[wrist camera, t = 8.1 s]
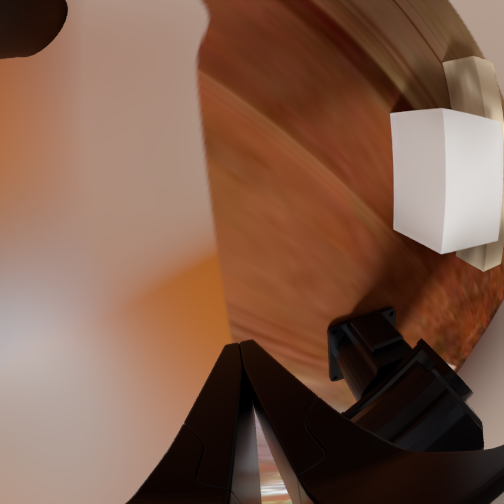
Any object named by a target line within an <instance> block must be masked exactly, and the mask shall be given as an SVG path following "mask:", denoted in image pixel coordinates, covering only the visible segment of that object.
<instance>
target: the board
mask: <svg viewBox="0 0 504 504" xmlns="http://www.w3.org/2000/svg"><path fill="white" fill-rule="evenodd" d="M442 64H443V68H444V72H445V77H446V81H447V86H448V92H449V97H450V103H451V109H452V110H454V111H459V112H464V113H468V114H472V115H477V116H481V117H484V118H488V119H492V120H495V121H499V122H502V133H503V195H502V209H501V219H500V228H499V236H498V241H495V242H491V243H487V244H483V245H479V246H474V247H470V248H466V249H462V250H457V251H456V256H457V257H458V258H460V259H462V260H464V261H466V262H467V263H469V264H471V265H473V266H475V267H476V268H478V269H480V270H482V271H483V272H484V271H486V270H488V269H490V268H492V267H494V266H497V265H499V264H501V259H502V252H503V244H504V120H503V113H502V106H501V99H500V94H499V88H498V83H497V79H496V74H495V69H494V65H493V62H490V61H487V60H484V59H482V58H479V57H476V56H470V57H465V58H460V59H456V60H451V61H447V62H443V63H442Z"/></svg>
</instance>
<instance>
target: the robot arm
mask: <svg viewBox="0 0 504 504" xmlns="http://www.w3.org/2000/svg"><path fill="white" fill-rule="evenodd" d="M390 312H391V313H390ZM389 313H390V314H389ZM395 318H396V310H395V309H394V308H393V307H387V308H384V309H381V310H378V311H375V312H372V313H369V314H366V315H363V316H360V317H357V318H354V319H350V320H347V321H344V322H341V323H337V324H334V325H331V326H330V327H329V328H328V330H327V335H328V358H329V378H330V380H331V381H333V382H334V381H338V380H341V379H345V381H346V382H347V384H348V386H349V388H350V390H351V391H352V393H353V395H354V397H355V398H356V400H357V402H356V403H355V404H354V405H352V406H351V407H350V408H349V409H348V410H346V411H345V412H342V413H341V414H340V413H339V412H338V411H336V410H335V409H333V408H332V407H331V406H329V405H328V404H327V403H326V402H325V401H323V400H322V399H321V398H319V397H318V396H317V395H316V394H315V393H314V392H312V391H311V390H310V389H309V388H308V387H306V386H305V385H304V384H303V383H302V382H301V381H299V380H298V379H297V378H296V377H295V376H294V375H292V374H291V373H290V372H289V371H288V370H287V369H286V368H284V367H283V366H282V365H281V364H280V363H279V362H278V361H276V360H275V359H274V358H273V357H272V356H271V355H270V354H269V353H267V352H266V351H265V350H264V349H263V348H262V347H261V346H260V345H259V344H258V343H256V342H255V341H254V340H252V339H251V340H246V341H241V342H240V344H239V343H231V344H227V345H225V346H224V348H223V350H222V352H221V354H220V355H219V357H218V359H217V361H216V363H215V365H214V367H213V369H212V371H211V373H210V375H209V377H208V378H207V380H206V382H205V384H204V386H203V388H202V390H201V392H200V393H199V396H198V397H197V399H196V401H195V403H194V405H193V407H192V408H191V410H190V412H189V414H188V416H187V418H186V420H185V422H184V424H183V425H182V427H181V429H180V431H179V432H178V434H177V436H176V438H175V439H174V441H173V443H172V444H171V446H170V448H169V449H168V450H167V452H166V453H165V455H164V456H163V458H162V459H161V460H160V462H159V463H158V465H157V466H156V467H155V469H154V470H153V471H152V473H151V474H150V475H149V477H148V478H147V479H146V480H145V482H144V483H143V484H142V485H141V487H140V488H139V489H138V491H137V492H136V493H135V494H134V495H133V497H132V498H131V499H130V500H129V501H128V502H127V503H126V504H262V502H261V490H260V478H259V465H258V452H257V439H256V426H255V414H254V409H255V412H256V415H257V418H258V421H259V423H260V426H261V428H262V431H263V433H264V436H265V438H266V441H267V443H268V446H269V448H270V451H271V453H272V456H273V458H274V461H275V463H276V465H277V468H278V470H279V473H280V475H281V477H282V480H283V482H284V484H285V487H286V489H287V491H288V493H289V496H290V498H291V500H292V503H293V504H504V445H502V446H499V447H496V448H493V449H487V450H484V441H483V440H484V439H483V427H482V422H481V420H480V419H479V418H478V416H477V414H476V413H475V411H474V410H473V409H472V408H471V407H470V406H469V404H468V403H467V402H466V401H467V400H468V399H469V398H470V397H471V395H472V394H473V392H472V391H471V390H470V388H469V387H468V386H467V385H466V384H465V383H464V382H463V380H462V379H461V378H460V377H459V376H458V375H457V374H456V373H455V372H454V371H453V369H452V368H451V367H450V366H449V365H448V364H447V363H446V362H445V361H444V360H443V359H442V358H441V357H440V356H439V355H438V354H437V353H436V352H435V351H434V350H433V349H432V348H431V347H430V346H429V345H428V344H427V343H426V342H425V341H424V340H423V339H422V338H421V339H420V340H419V341H418V342H417V345H416V346H415V347H414V348H413V349H412V348H411V346H410V345H409V344H408V343H407V342H406V341H405V340H404V339H403V335H402V334H401V333H400V332H399V331H398V330H397V329H396V328H395ZM333 330H335V331H334V332H332V331H333ZM334 376H335V377H334ZM253 405H254V407H253Z"/></svg>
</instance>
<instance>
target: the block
mask: <svg viewBox="0 0 504 504" xmlns="http://www.w3.org/2000/svg"><path fill="white" fill-rule="evenodd" d="M390 119H391V130H392V145H393V166H394V224H393V229H394V230H396V231H398V232H400V233H402V234H404V235H405V236H407V237H409V238H411V239H413V240H415V241H417V242H419V243H421V244H423V245H425V246H427V247H428V248H430V249H432V250H434V251H436V252H438V253H439V254H444V253H449V252H453V251H457V250H462V249H466V248H470V247H474V246H479V245H483V244H487V243H491V242H495V241H498V236H499V228H500V219H501V209H502V195H503V133H502V122H499V121H495V120H492V119H488V118H484V117H481V116H477V115H472V114H468V113H464V112H459V111H454V110H450V109H444V108H437V109H425V110H415V111H405V112H397V113H390Z"/></svg>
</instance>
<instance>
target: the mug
mask: <svg viewBox="0 0 504 504" xmlns="http://www.w3.org/2000/svg"><path fill="white" fill-rule="evenodd" d="M67 13H68V7H67V3H66V1H65V0H0V59H5V58H14V57H28V56H31V55H34V54H36V53H38V52H40V51H41V50H43V49H44V48H45V47H46V46H48V45H49V44H50V43H51V42H52V41H53V40H54V38H55V37H56V36H57V35H58V33H59V32H60V30H61V29H62V27H63V25H64V23H65V21H66V17H67Z"/></svg>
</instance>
